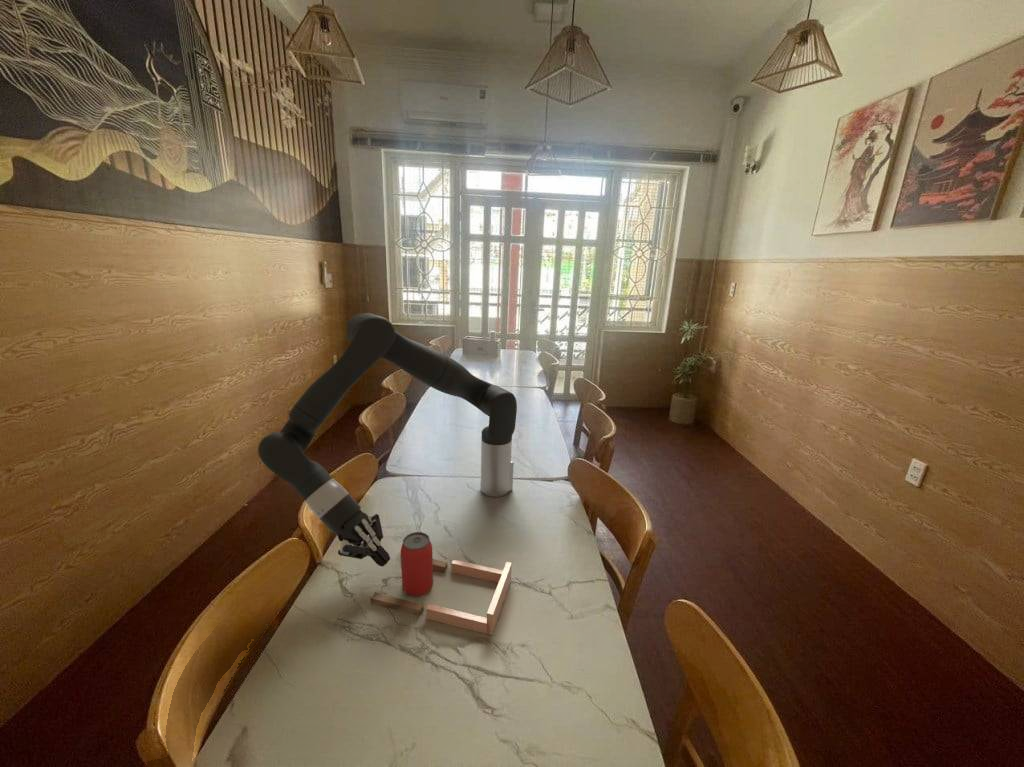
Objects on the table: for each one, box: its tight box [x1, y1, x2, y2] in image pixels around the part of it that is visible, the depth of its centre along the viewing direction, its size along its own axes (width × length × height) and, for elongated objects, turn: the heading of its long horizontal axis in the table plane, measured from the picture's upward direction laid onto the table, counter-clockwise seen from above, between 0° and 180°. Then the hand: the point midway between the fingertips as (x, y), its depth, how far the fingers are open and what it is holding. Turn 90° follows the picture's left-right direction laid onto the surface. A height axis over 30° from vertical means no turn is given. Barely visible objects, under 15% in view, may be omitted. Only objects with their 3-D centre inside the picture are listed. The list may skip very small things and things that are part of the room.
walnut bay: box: [370, 558, 449, 617], centre depth 90 cm, size 11×14×2 cm
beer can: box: [400, 531, 434, 597], centre depth 88 cm, size 7×7×12 cm
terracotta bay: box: [425, 559, 513, 636], centre depth 86 cm, size 14×14×5 cm
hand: (386, 562), depth 90 cm, fingers closed
